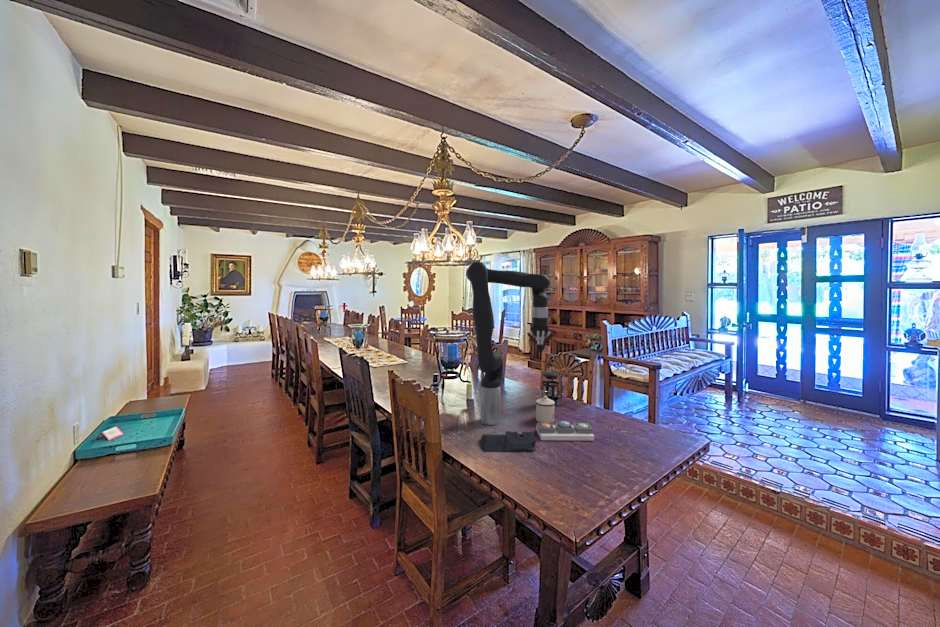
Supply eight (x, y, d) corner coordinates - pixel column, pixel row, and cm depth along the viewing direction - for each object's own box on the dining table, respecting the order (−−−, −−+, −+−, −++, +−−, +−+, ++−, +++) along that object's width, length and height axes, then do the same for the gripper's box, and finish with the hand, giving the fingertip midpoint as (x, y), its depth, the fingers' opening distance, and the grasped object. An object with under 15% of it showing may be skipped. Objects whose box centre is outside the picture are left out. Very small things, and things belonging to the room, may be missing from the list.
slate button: (560, 429, 159) (560, 424, 159) (557, 425, 164) (558, 420, 163) (570, 429, 159) (570, 424, 159) (568, 425, 164) (568, 420, 163)
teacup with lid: (557, 423, 175) (557, 398, 174) (538, 423, 174) (538, 399, 173) (549, 414, 187) (549, 391, 186) (531, 415, 186) (532, 392, 185)
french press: (543, 407, 198) (543, 364, 196) (537, 402, 207) (538, 361, 206) (564, 406, 200) (565, 364, 198) (557, 401, 209) (558, 360, 207)
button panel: (540, 440, 156) (540, 430, 155) (535, 429, 168) (535, 420, 167) (594, 440, 156) (594, 431, 155) (585, 429, 168) (586, 420, 167)
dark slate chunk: (480, 437, 159) (480, 426, 159) (531, 437, 160) (532, 426, 159) (481, 453, 144) (481, 441, 144) (538, 453, 144) (538, 441, 144)
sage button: (579, 431, 159) (579, 427, 159) (576, 427, 164) (576, 423, 164) (589, 431, 159) (589, 427, 159) (586, 427, 164) (586, 423, 163)
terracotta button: (541, 431, 159) (541, 427, 159) (539, 427, 164) (539, 423, 164) (551, 431, 159) (551, 427, 159) (549, 427, 164) (549, 423, 164)
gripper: (527, 317, 177) (527, 353, 179) (555, 317, 177) (554, 353, 179) (525, 315, 185) (524, 350, 186) (552, 315, 185) (551, 350, 186)
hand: (539, 351), depth 182 cm, fingers closed
